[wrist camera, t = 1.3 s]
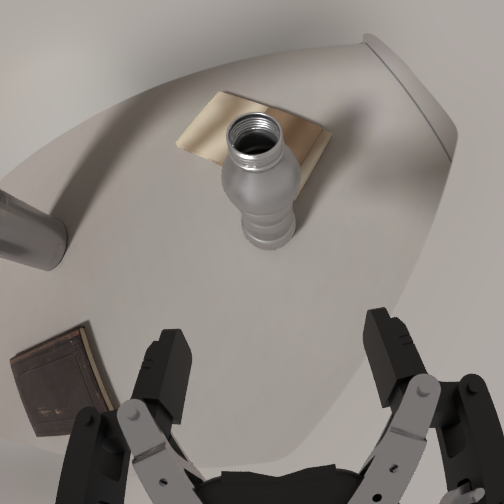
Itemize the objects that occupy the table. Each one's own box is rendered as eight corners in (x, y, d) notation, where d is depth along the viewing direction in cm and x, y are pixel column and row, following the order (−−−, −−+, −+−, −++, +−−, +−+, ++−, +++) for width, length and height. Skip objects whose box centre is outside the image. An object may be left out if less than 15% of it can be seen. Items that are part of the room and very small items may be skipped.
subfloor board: (178, 147, 40) (175, 142, 39) (220, 96, 42) (218, 90, 40) (295, 200, 36) (295, 196, 35) (331, 137, 38) (332, 132, 36)
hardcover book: (124, 424, 32) (116, 428, 30) (44, 434, 32) (36, 436, 30) (86, 326, 36) (77, 325, 34) (16, 357, 36) (8, 358, 34)
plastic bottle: (287, 199, 36) (288, 88, 17) (301, 248, 35) (321, 165, 15) (239, 211, 37) (197, 109, 17) (250, 260, 35) (211, 191, 16)
